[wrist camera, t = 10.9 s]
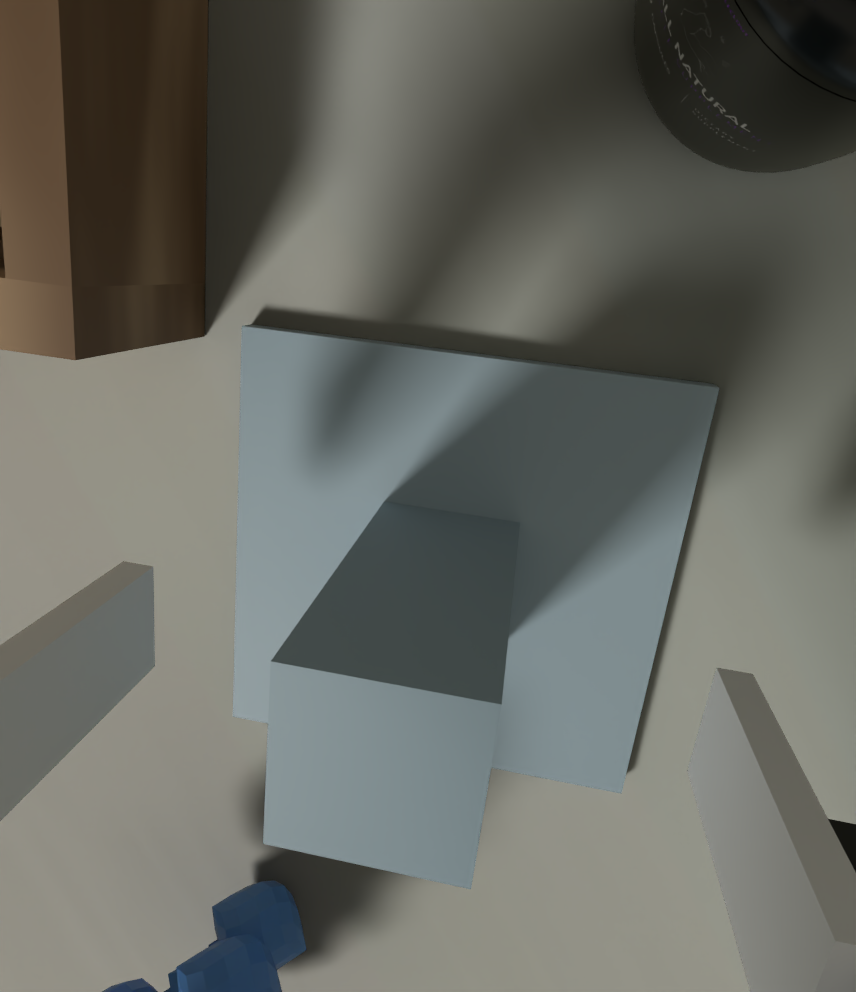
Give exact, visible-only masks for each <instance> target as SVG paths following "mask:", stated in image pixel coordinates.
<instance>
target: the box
mask: <svg viewBox="0 0 856 992" xmlns="http://www.w3.org/2000/svg"><path fill="white" fill-rule="evenodd" d="M207 65H208V0H0V213H1V226H2V239H3V240H1V239H0V349H2V350H9V351H16V352H23V353H30V354H37V355H43V356H50V357H57V358H64V359H71V360H79V359H84V358H90V357H95V356H101V355H106V354H111V353H117V352H122V351H128V350H133V349H139V348H144V347H149V346H155V345H160V344H166V343H171V342H176V341H182V340H187V339H193V338H198V337H204V336H205V252H206V159H207Z"/></svg>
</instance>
